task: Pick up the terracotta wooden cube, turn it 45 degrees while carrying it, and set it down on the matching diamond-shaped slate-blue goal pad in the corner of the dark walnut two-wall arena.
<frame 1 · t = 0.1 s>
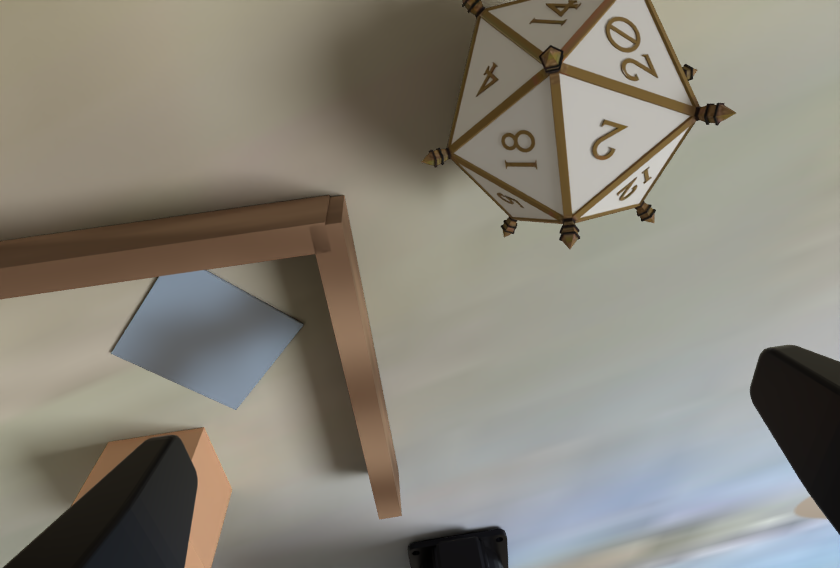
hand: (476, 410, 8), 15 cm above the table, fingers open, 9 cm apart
cube: (173, 465, 28), on the table
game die: (528, 93, 20), on the table
arena: (194, 383, 25), on the table
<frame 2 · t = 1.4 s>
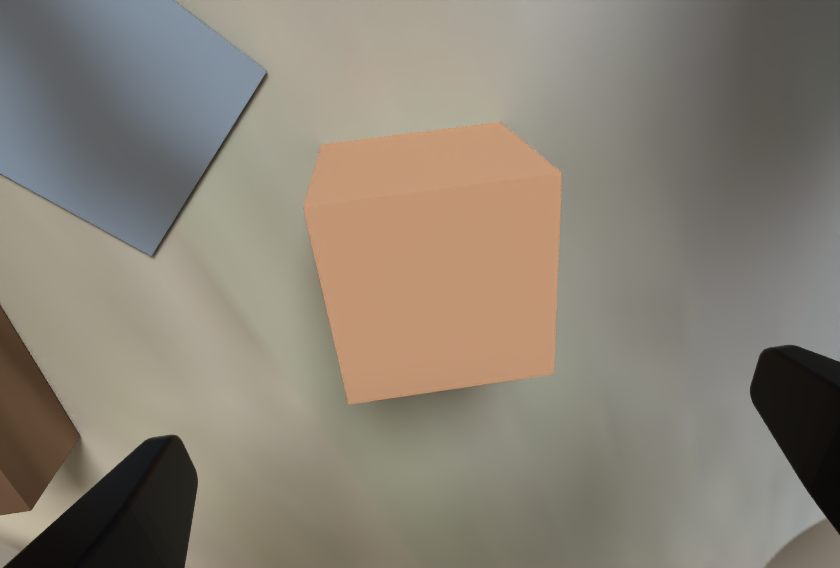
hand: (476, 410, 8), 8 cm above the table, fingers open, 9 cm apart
cube: (420, 216, 15), on the table
arena: (205, 140, 13), on the table
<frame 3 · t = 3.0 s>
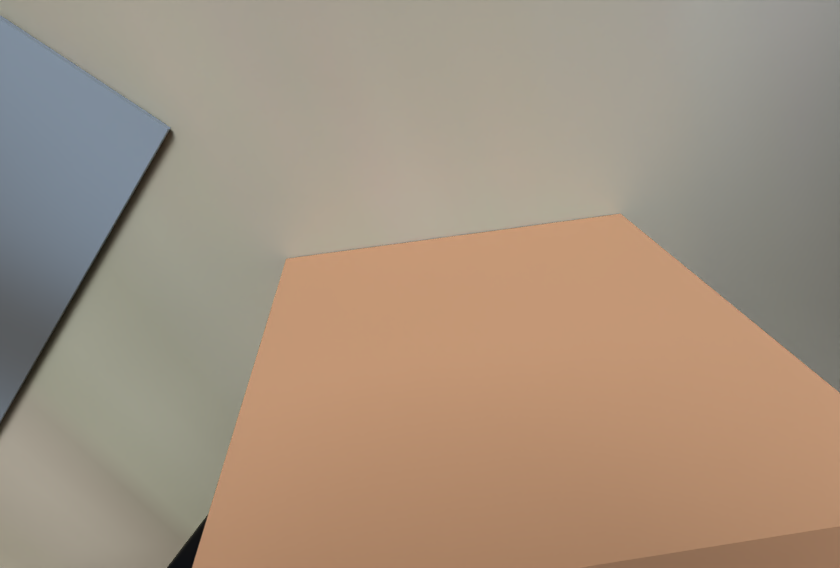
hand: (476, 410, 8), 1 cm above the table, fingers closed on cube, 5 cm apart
cube: (465, 367, 9), on the table, touching gripper
arena: (61, 256, 7), on the table
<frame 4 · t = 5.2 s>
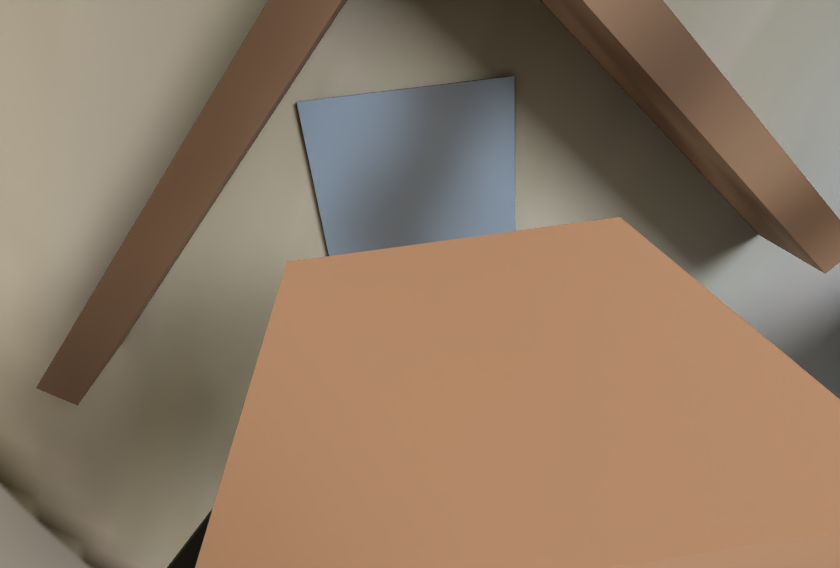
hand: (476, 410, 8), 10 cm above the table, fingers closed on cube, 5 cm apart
cube: (465, 370, 9), point 9 cm above the table, touching gripper
arena: (445, 266, 18), on the table
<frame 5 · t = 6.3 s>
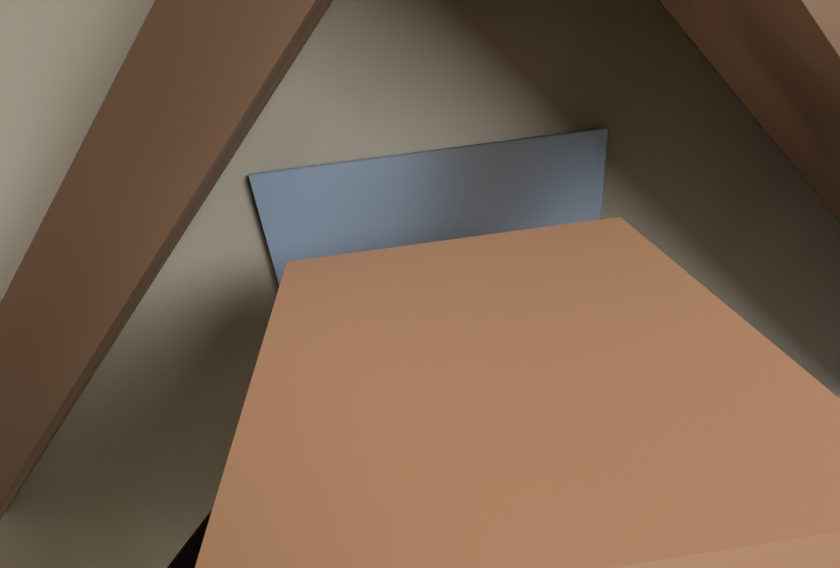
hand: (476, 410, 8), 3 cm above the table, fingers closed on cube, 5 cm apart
cube: (465, 370, 9), point 2 cm above the table, touching gripper
arena: (482, 398, 12), on the table
when the fingers open (2 cm above the table, at t = 7.3 s): cube drops 1 cm, resting on arena.
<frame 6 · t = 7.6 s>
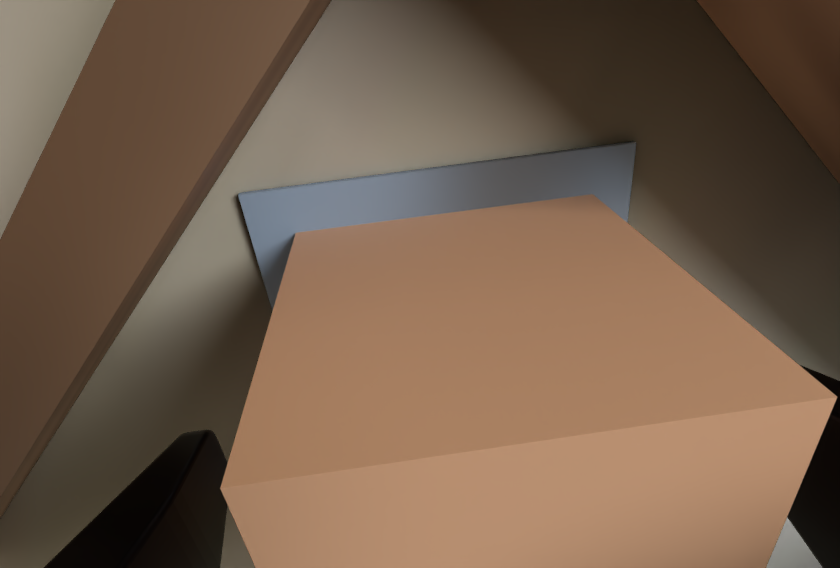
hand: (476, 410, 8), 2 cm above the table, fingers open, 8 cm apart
cube: (455, 335, 10), resting on arena
arena: (493, 429, 11), on the table
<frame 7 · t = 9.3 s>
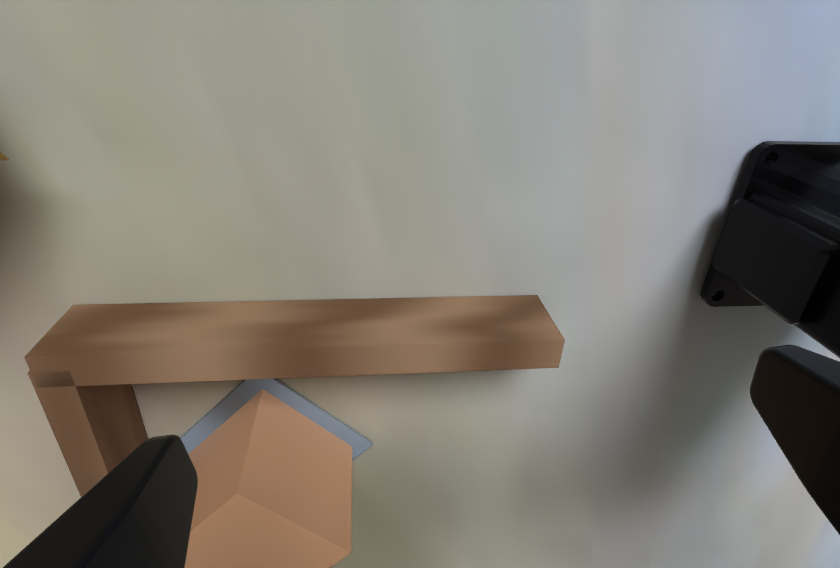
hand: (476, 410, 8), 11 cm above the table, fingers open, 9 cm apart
cube: (271, 450, 22), resting on arena
arena: (328, 468, 23), on the table
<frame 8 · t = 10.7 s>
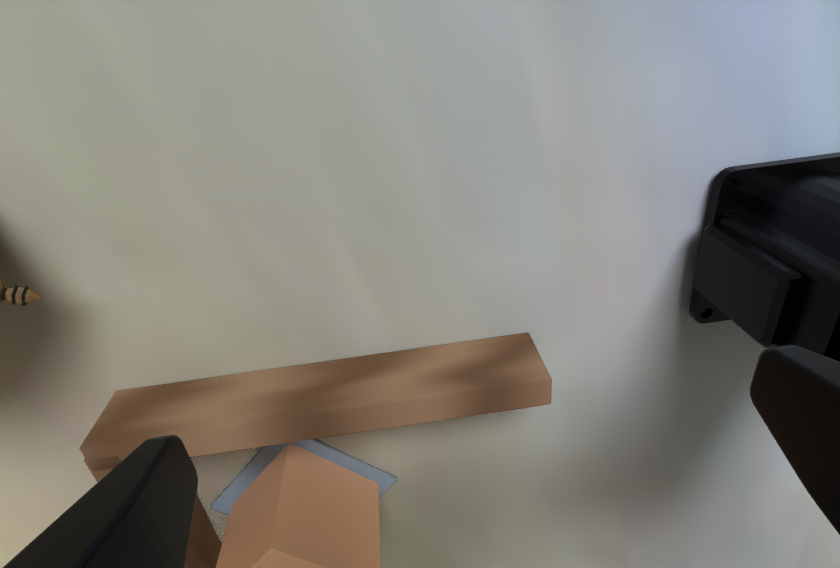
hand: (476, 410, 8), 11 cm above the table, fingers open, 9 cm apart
cube: (305, 494, 24), resting on arena
arena: (360, 504, 25), on the table
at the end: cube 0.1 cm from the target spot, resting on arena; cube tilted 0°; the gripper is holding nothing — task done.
